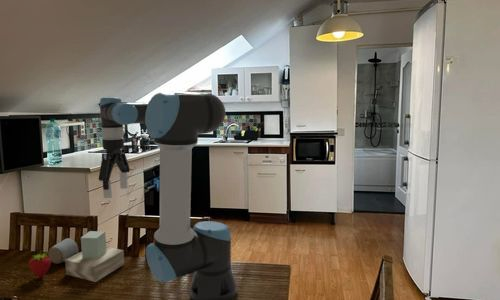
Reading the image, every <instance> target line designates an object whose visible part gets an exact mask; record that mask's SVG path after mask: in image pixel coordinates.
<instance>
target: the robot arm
mask: <svg viewBox="0 0 500 300" xmlns="http://www.w3.org/2000/svg"><path fill="white" fill-rule="evenodd" d="M225 107H226V106H225V104H224V102H223V101H222V100H221V99H220V98H219V97H218V96H216V95H215V94H213V93H208V92H194V91H193V92H192V91H191V92H187V91H186V92H185V91H182V92H181V91H166V92H164V91H163V92H158V93H156V94H154V95H153V96H152V97H150V100H149V101H148V102H122V99H121V98H120V97H101V98H100V99H99V109H100V110H99V111H100V113H99V114H100V123H101V125H100V126H101V130H100V132H101V137H102V138H103V139H102V140H101V141H102V149H103V150H106V153H101V162H100V169H99V174H98V180H99V181H100V182H102V191H103V192H102V193H103V199H111V198H112V197H113V195H112V193H113V192H112V180H110V178H111V176H112V171H113V168H114V166H115V165H116V166H117V167H118V169H119V183H120V185H119V186H120V190H121V189H125V190H127V189H128V187H129V185H128V184H129V183H128V173H130V165H129V163H128V159H127V156H126V149H125V148H124V147H125V144H124V138H123V137H124V126H125V125H126V126H127V125H128V126H129V125H132V124H145V126H146V132H147V134H148V135H149V136H150V137H151V138H153V142H154V144H155V145H156V146H157V147H158V148H159V228H158V229H156V231H155V232H154V233H153V242H152V243H149V244H148V245H147V246H146V248H145V257H146V261H147V264H148V268H149V269H150V271H151V274H152V275H153V277H154V278H155V279H156V281H158V282H160V283H162V284H165V283H169V282H172V281H177V280H178V279H180V278H182V277H185V276H189V275H190V274H193V276H192V279H191V282H190V286H189V295H190V298H191V299H192V300H232V299H234V297H235V296H236V294H237V282H236V279H235V276H234V273H233V271H232V258H231V257H232V250H231V249H232V245H231V244H232V237H231V235H232V234H231V228H230V227H229V226H228V225H227V224H225V223H222V222H218V221H212V220H211V221H210V220H208V221H199V222H196V223H195V224H194V226H193V228H191V200H192V197H191V195H192V194H191V193H192V155H193V151H192V149H193V148H194V147H195V146H196V145H198V136H199V135H203V134H209V133H212V132H215V131H216V130H218V129H220V127H221V126H222V125H223V124H224V121H225V119H226V108H225Z"/></svg>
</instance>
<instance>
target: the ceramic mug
mask: <svg viewBox="0 0 500 300" xmlns="http://www.w3.org/2000/svg"><path fill="white" fill-rule="evenodd" d="M47 253H48V255H47V256H48V258H50V260H51V263H53V264H54V265H59V264H62V263H65V260H66V259H68V258H70V257H72V256H74V255H76V254H78V253H79V246H78V244H77V242H76V241H75V240H73V239H72V238H70V237H69V238H68V237H67V238H65V239H63V240H62V241H60V242H58V243H56V244H54V245H53V246H52V247H50V248H49V250H48V252H47Z"/></svg>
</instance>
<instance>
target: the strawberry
mask: <svg viewBox="0 0 500 300" xmlns="http://www.w3.org/2000/svg"><path fill="white" fill-rule="evenodd" d="M41 252H42V251H40V252H39V253H38V254H36V255H35V254H34V255H33V257H32V258H31V259H30V260H29V262H28V267H29V269H30V271H32V273H33V274H34V275H35V276H37V277H38V278H41V279H43V277H45V275H46V274H47V273H48V271H49V269H50V268H51V263H52V261H51V260H50V258H49V256H48V255H47V254H48V253H49V252H47V253H42V254H41Z"/></svg>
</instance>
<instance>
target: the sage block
mask: <svg viewBox="0 0 500 300" xmlns="http://www.w3.org/2000/svg"><path fill="white" fill-rule="evenodd" d="M106 239H107V237H106V231H101V230H99V231H98V230H96V231H94V230H89V231H88V232H86V233H85V234H83V235H82V236H81V237H80V245H81V246H80V247H81V252H82V259H99V258H100V257H101V256H102V255H104V254H105V253H106V252H107V250H106V247H107V240H106Z"/></svg>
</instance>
